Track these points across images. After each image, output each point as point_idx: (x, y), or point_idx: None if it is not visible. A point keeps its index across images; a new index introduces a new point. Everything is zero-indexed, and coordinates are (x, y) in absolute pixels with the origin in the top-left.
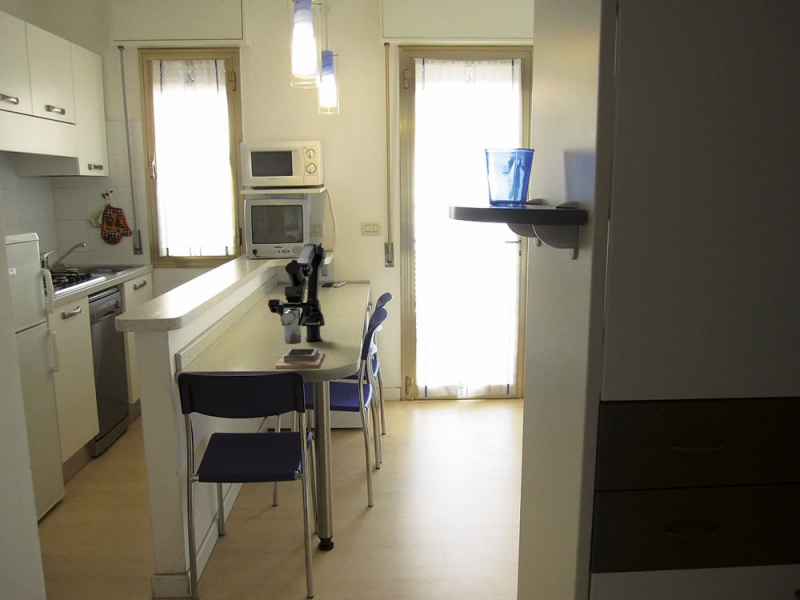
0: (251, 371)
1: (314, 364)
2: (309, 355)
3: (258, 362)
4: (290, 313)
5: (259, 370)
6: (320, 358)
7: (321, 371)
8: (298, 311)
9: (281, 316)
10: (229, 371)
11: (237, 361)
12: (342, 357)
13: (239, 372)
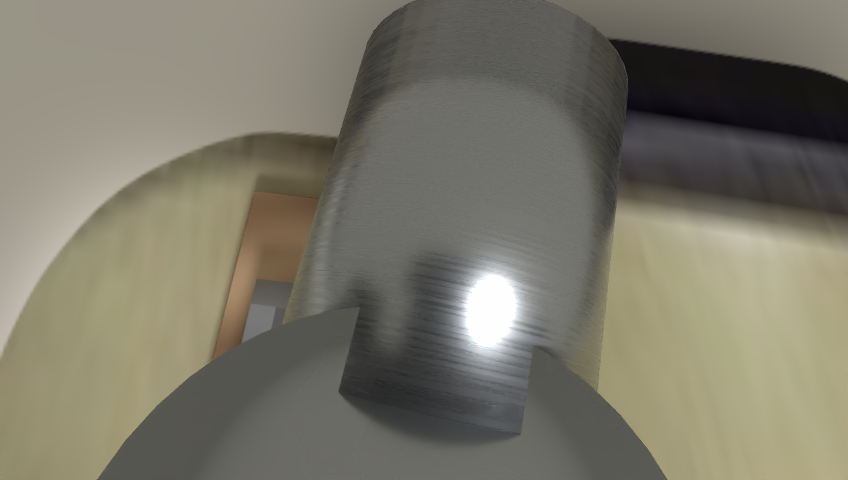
0: (659, 200)
1: (277, 201)
2: (290, 289)
3: (666, 412)
4: (402, 69)
5: (615, 213)
6: (221, 346)
7: (252, 133)
8: (141, 444)
9: (618, 79)
10: (795, 223)
11: (833, 473)
12: (58, 443)
13: (726, 192)
